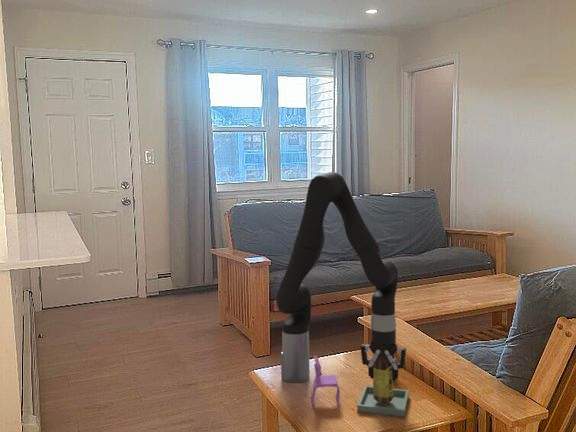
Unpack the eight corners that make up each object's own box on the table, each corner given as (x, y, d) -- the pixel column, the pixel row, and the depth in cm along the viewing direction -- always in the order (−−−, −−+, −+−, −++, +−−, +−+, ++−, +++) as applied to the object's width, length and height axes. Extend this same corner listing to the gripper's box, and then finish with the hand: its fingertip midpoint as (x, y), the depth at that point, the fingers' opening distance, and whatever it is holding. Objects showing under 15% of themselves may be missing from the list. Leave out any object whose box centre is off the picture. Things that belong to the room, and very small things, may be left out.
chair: (340, 407, 168) (339, 361, 166) (312, 408, 168) (311, 362, 166) (337, 395, 176) (337, 351, 174) (310, 396, 176) (309, 351, 174)
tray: (357, 412, 165) (357, 405, 164) (365, 391, 178) (365, 385, 178) (404, 417, 160) (404, 410, 160) (408, 396, 174) (408, 390, 173)
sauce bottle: (393, 404, 165) (393, 341, 163) (372, 403, 166) (372, 340, 164) (393, 394, 172) (394, 334, 169) (373, 393, 173) (373, 333, 170)
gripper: (357, 328, 165) (358, 381, 167) (406, 332, 160) (405, 386, 162) (362, 321, 172) (362, 371, 174) (408, 324, 167) (408, 376, 169)
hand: (383, 378), depth 168 cm, fingers closed on sauce bottle, 6 cm apart
